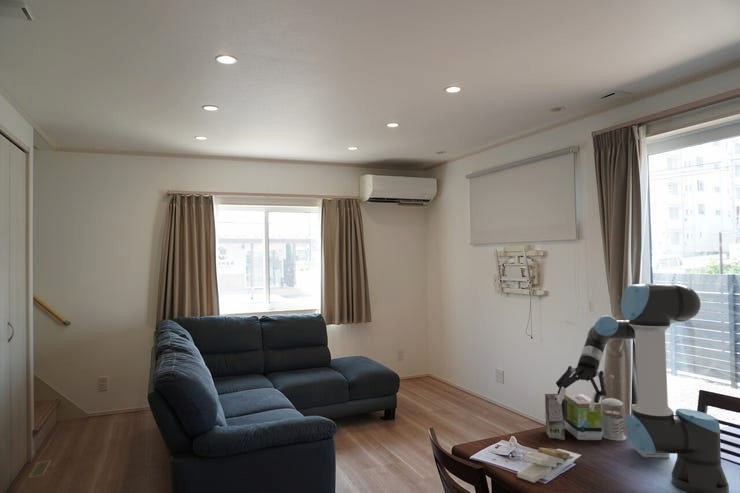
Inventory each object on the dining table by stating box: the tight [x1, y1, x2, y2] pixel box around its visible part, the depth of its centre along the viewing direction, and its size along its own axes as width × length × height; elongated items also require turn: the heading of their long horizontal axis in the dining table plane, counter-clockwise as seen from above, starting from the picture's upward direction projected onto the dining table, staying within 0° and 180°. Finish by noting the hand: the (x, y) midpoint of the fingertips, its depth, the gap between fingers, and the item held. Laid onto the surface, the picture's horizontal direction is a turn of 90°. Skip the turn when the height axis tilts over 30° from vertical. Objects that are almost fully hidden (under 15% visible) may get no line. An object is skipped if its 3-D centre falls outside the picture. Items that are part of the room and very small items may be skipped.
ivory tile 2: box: [523, 454, 557, 467], centre depth 166 cm, size 2×6×12 cm
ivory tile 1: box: [530, 450, 564, 464], centre depth 169 cm, size 2×6×12 cm
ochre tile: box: [537, 447, 570, 458], centre depth 174 cm, size 2×6×12 cm
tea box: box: [563, 393, 603, 441], centre depth 202 cm, size 15×10×15 cm
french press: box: [601, 374, 627, 441], centre depth 199 cm, size 10×12×25 cm
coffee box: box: [544, 393, 566, 441], centre depth 200 cm, size 9×6×16 cm
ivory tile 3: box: [516, 462, 551, 483], centre depth 163 cm, size 2×6×12 cm
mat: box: [546, 448, 582, 477], centre depth 173 cm, size 25×9×1 cm, turn 133°
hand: (574, 405), depth 185 cm, fingers open, 12 cm apart
